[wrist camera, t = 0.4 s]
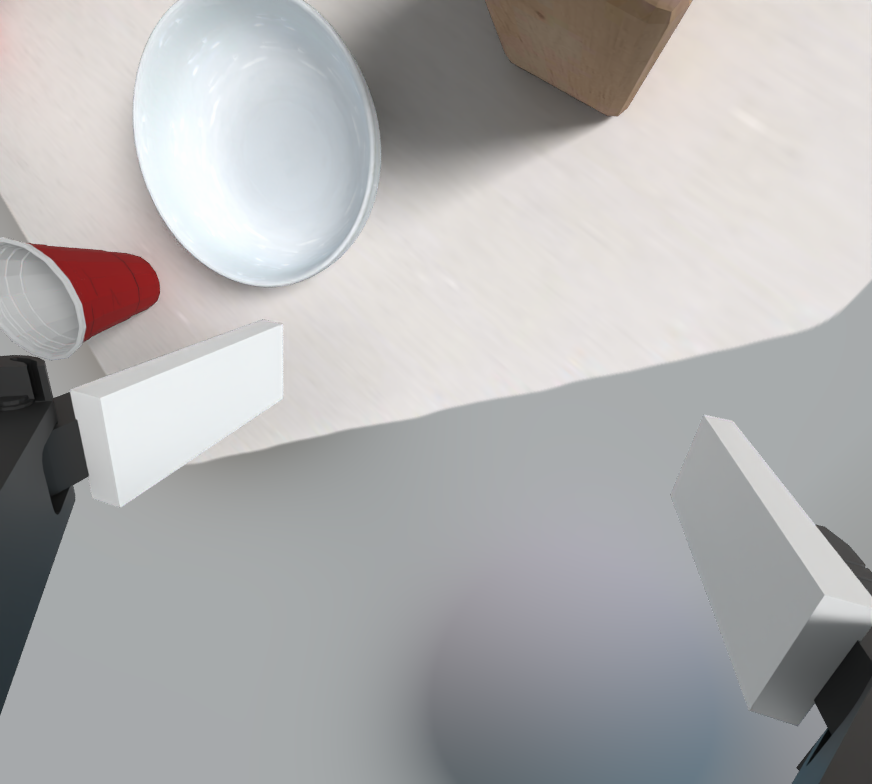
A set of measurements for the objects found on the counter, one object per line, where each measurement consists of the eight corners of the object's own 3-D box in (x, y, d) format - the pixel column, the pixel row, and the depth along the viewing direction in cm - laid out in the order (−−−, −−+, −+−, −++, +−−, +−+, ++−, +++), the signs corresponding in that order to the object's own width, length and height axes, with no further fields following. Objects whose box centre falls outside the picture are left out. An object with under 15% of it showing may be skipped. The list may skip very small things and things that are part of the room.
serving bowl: (449, 193, 39) (427, 190, 32) (282, 315, 47) (239, 331, 41) (308, -54, 35) (253, -112, 29) (153, 126, 43) (85, 111, 37)
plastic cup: (132, 343, 53) (23, 377, 43) (81, 253, 51) (-50, 264, 40) (198, 314, 49) (96, 342, 39) (147, 214, 47) (21, 216, 36)
